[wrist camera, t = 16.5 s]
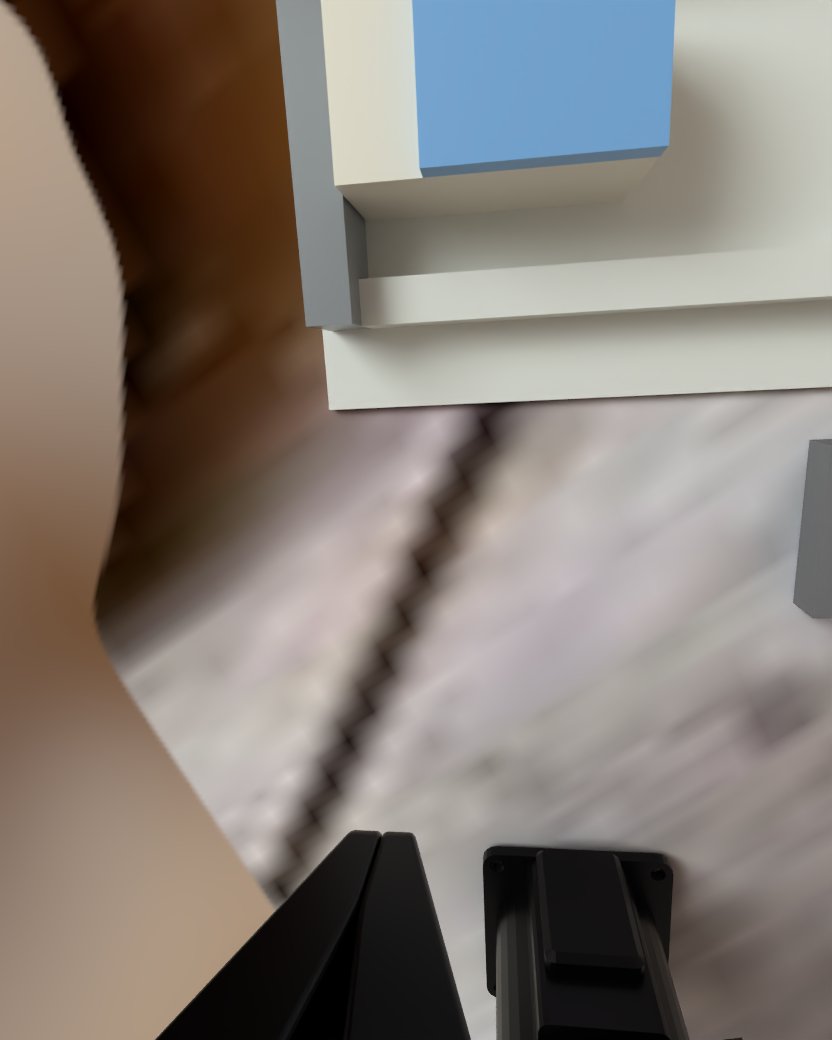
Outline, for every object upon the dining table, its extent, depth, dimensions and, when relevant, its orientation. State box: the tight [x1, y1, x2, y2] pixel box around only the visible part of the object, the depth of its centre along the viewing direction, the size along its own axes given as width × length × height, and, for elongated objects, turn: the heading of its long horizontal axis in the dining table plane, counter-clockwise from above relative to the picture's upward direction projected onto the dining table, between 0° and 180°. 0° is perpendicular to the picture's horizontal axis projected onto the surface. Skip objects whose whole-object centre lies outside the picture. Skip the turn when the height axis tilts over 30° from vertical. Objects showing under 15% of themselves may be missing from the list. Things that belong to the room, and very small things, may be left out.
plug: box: [321, 0, 676, 222], centre depth 14 cm, size 4×7×4 cm, turn 93°
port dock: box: [276, 0, 832, 410], centre depth 15 cm, size 14×19×3 cm
